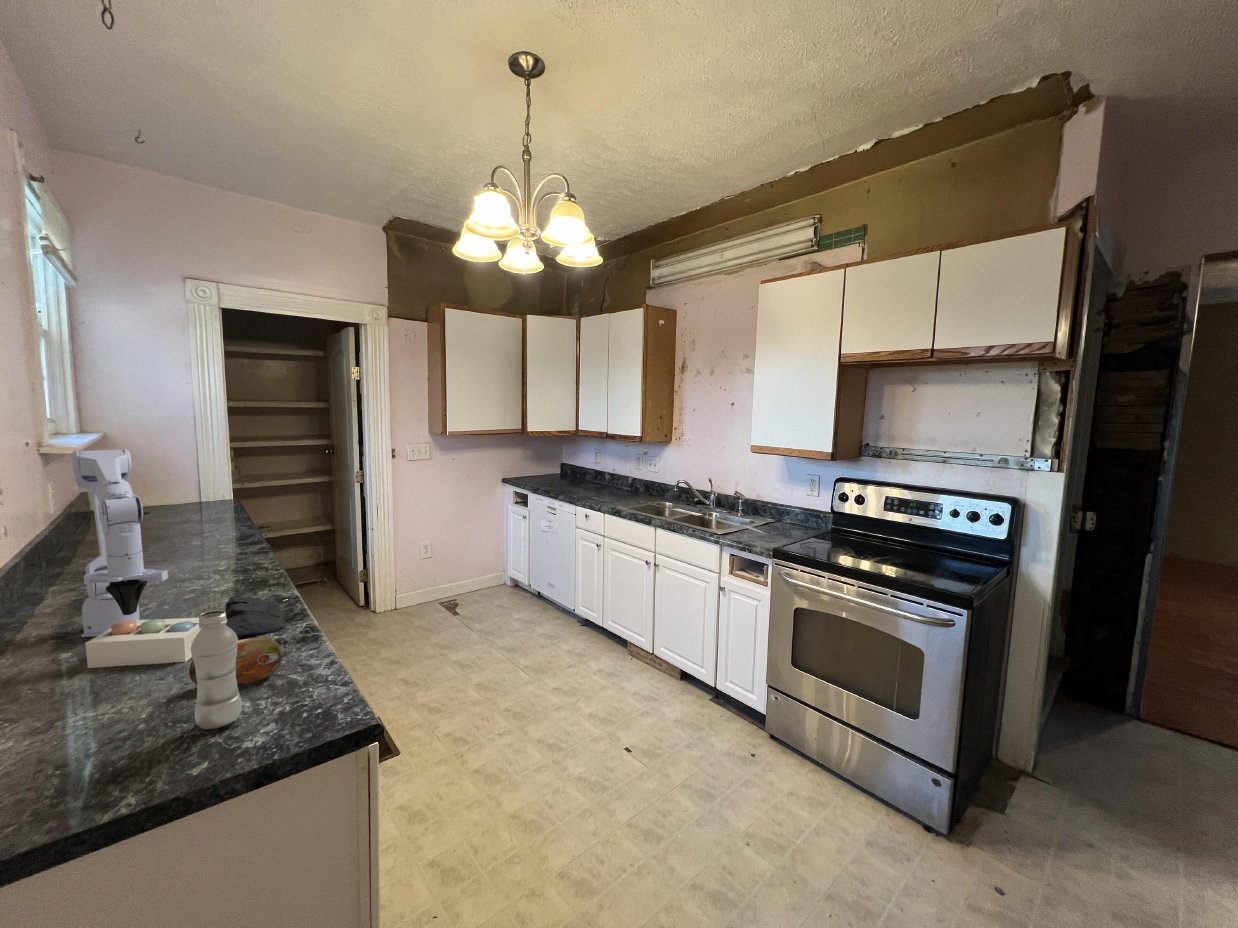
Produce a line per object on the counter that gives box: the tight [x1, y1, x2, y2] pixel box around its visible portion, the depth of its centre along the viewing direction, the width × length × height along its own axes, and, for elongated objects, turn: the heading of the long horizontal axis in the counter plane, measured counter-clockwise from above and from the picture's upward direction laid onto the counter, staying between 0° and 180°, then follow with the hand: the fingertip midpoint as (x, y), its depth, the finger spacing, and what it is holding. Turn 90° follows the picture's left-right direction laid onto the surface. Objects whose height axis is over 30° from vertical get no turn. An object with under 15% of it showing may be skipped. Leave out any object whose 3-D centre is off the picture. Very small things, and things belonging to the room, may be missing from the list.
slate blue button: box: [169, 621, 193, 632], centre depth 117 cm, size 4×4×3 cm
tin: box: [188, 636, 283, 686], centre depth 105 cm, size 15×3×8 cm, turn 117°
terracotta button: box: [111, 620, 137, 636], centre depth 115 cm, size 4×4×3 cm
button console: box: [84, 617, 201, 669], centre depth 116 cm, size 18×11×6 cm, turn 101°
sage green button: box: [140, 618, 165, 634], centre depth 116 cm, size 4×4×3 cm
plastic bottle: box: [191, 609, 243, 730], centre depth 91 cm, size 6×7×20 cm
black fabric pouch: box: [224, 596, 286, 638], centre depth 133 cm, size 15×22×5 cm
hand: (129, 613), depth 114 cm, fingers closed
